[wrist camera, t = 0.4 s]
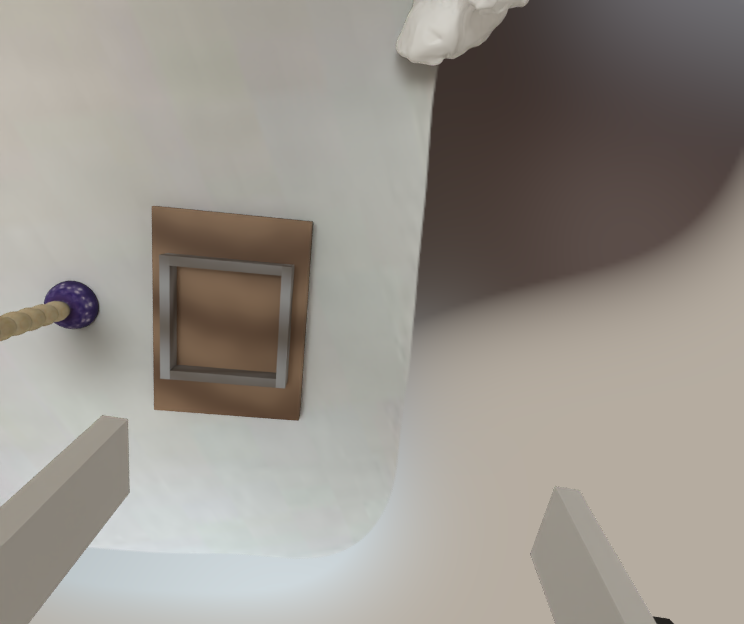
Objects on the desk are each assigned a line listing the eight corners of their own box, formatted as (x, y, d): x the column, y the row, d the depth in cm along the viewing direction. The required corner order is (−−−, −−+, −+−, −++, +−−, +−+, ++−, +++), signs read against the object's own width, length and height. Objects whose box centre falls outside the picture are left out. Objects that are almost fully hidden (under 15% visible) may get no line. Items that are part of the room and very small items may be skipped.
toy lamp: (62, 266, 38) (-154, 308, 22) (113, 292, 39) (-60, 352, 23) (42, 313, 39) (-181, 387, 23) (92, 338, 40) (-90, 427, 24)
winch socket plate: (158, 206, 38) (143, 206, 35) (313, 221, 38) (309, 222, 36) (159, 403, 42) (146, 417, 39) (300, 414, 42) (296, 428, 40)
